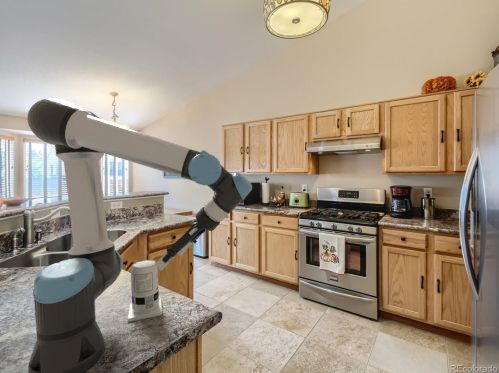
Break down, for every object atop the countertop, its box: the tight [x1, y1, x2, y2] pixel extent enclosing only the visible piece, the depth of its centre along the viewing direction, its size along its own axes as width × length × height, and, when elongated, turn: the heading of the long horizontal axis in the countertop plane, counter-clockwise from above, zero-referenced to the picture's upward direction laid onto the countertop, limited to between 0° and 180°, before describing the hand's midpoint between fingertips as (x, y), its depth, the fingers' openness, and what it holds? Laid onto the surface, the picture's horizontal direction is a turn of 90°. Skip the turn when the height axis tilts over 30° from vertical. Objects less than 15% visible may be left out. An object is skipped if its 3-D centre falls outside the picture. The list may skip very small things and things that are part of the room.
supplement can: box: [130, 259, 160, 313], centre depth 83 cm, size 8×8×15 cm
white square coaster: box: [127, 297, 163, 322], centre depth 83 cm, size 10×10×1 cm
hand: (168, 259), depth 81 cm, fingers open, 13 cm apart
